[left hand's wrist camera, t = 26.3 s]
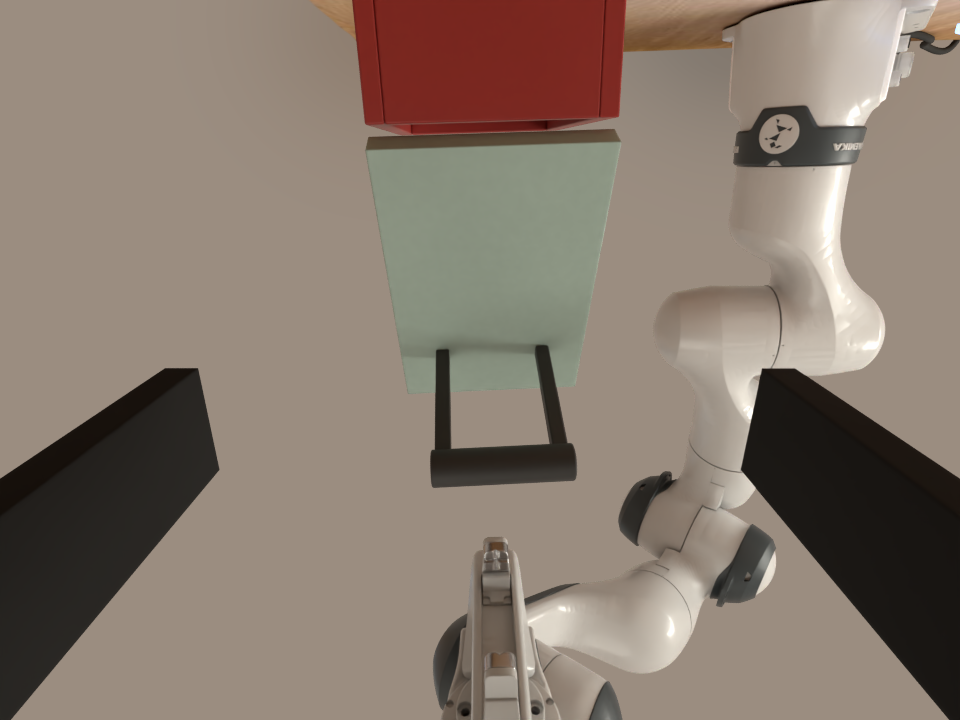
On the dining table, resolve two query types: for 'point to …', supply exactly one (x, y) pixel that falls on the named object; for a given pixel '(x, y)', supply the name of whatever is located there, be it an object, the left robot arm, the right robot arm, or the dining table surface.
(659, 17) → the dining table surface
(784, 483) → the left robot arm
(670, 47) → the dining table surface
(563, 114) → the chest
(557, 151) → the lid
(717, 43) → the dining table surface
